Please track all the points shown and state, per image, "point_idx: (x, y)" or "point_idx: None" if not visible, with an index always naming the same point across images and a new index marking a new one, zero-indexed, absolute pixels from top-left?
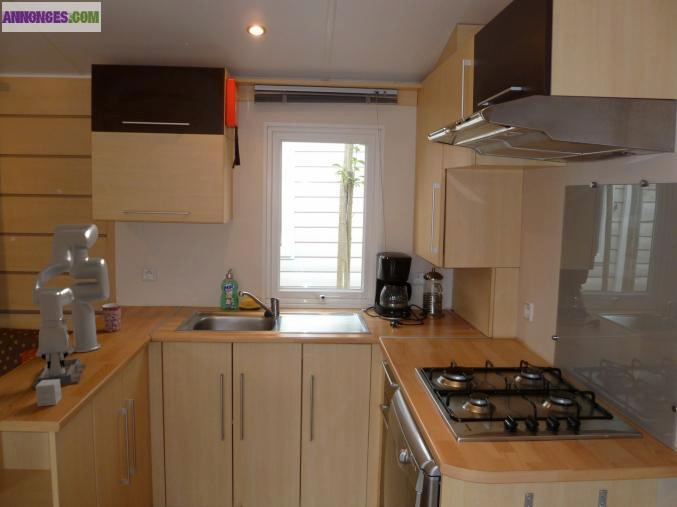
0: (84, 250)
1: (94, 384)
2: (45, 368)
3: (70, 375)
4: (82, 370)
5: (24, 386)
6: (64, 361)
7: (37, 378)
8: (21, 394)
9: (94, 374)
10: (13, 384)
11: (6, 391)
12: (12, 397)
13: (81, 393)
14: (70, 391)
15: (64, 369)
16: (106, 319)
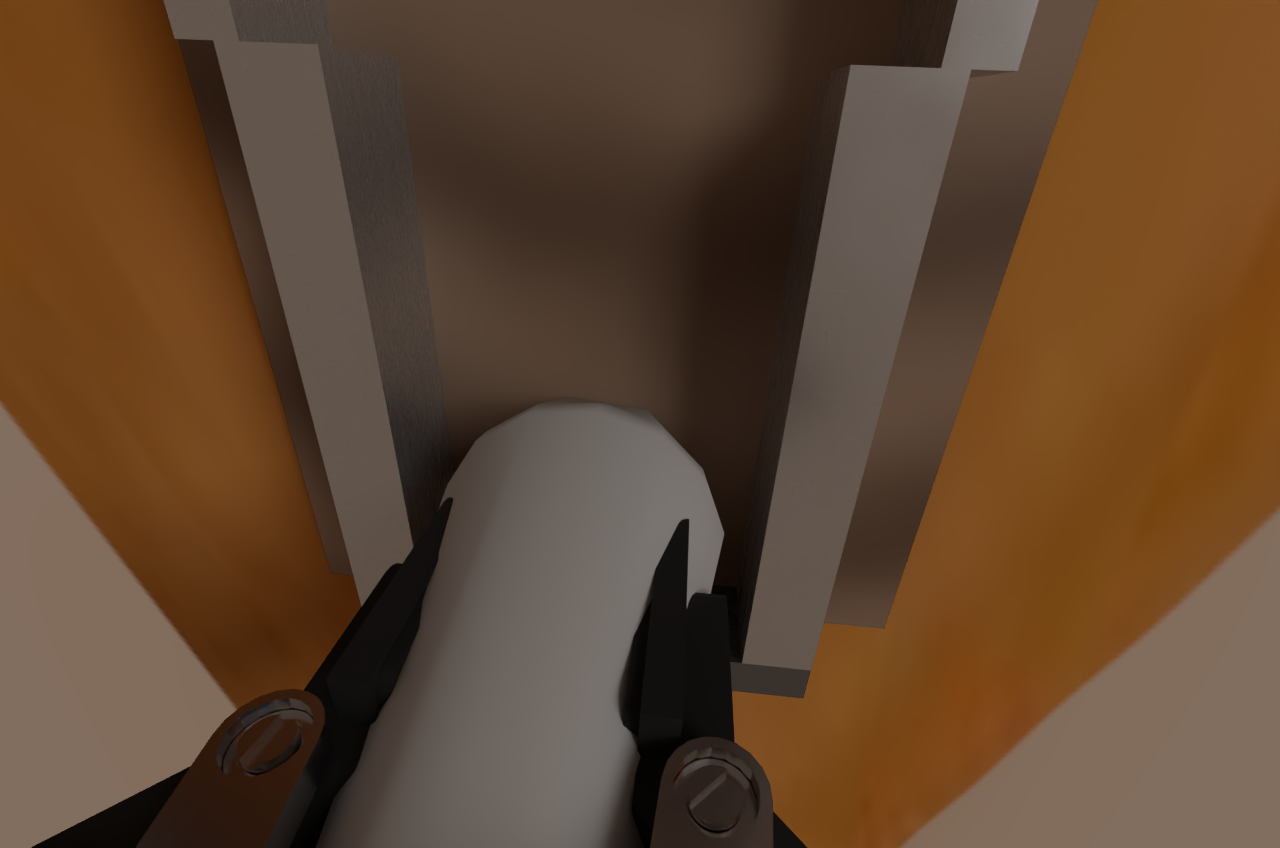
0: None
1: (1039, 700)
2: (243, 111)
3: (803, 689)
4: (1047, 135)
5: (221, 442)
6: (730, 684)
7: (273, 300)
8: (318, 654)
9: (1185, 332)
10: (8, 298)
11: (99, 520)
12: (269, 686)
13: (867, 828)
14: (774, 760)
15: (713, 572)
16: None
